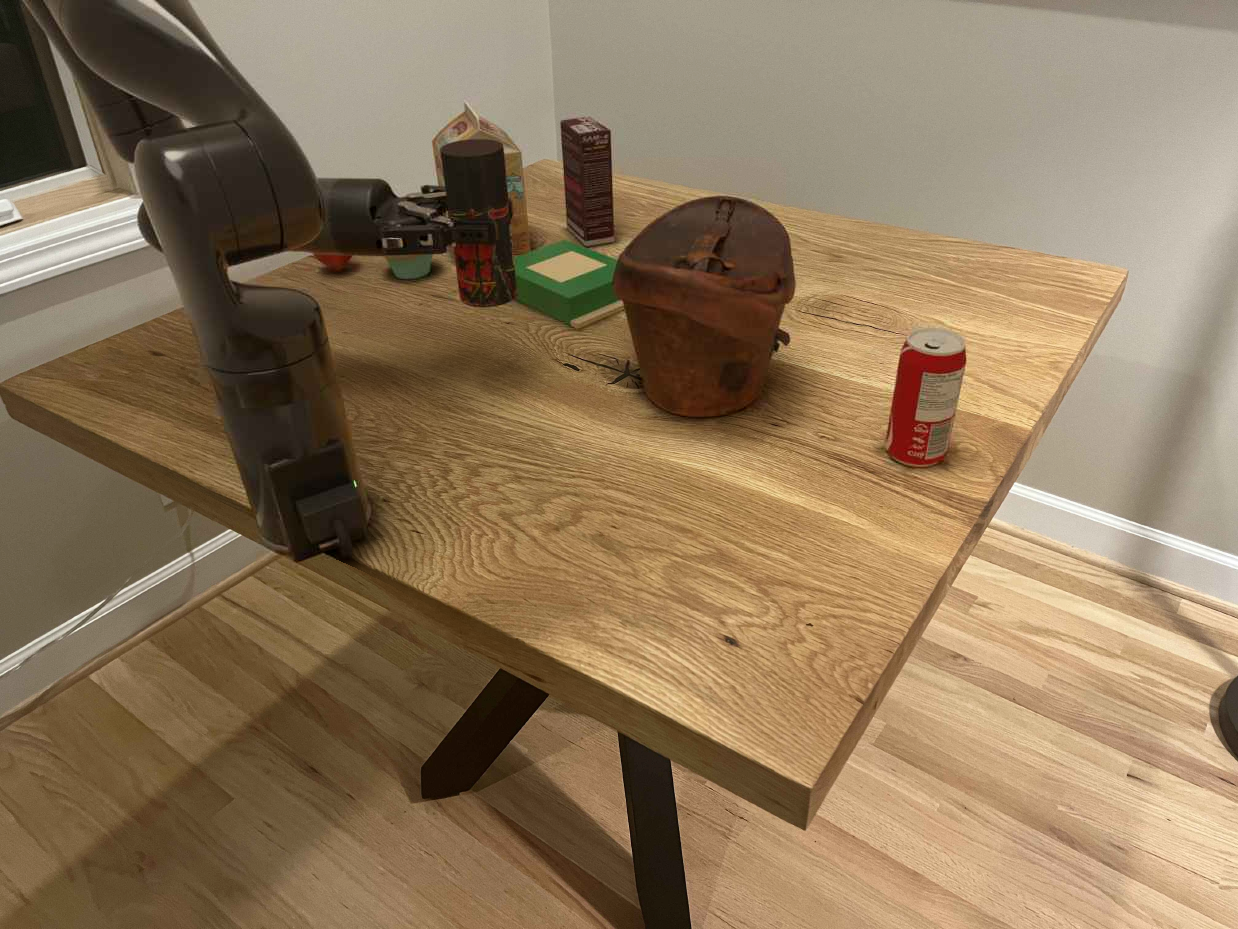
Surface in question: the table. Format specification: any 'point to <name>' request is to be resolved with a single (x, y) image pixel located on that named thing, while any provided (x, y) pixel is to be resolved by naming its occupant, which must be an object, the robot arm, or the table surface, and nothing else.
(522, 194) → the milk carton
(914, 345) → the soda can
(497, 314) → the table surface
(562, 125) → the supplement box
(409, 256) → the cupcake
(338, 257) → the onion
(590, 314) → the green box
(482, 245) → the deodorant
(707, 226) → the case
